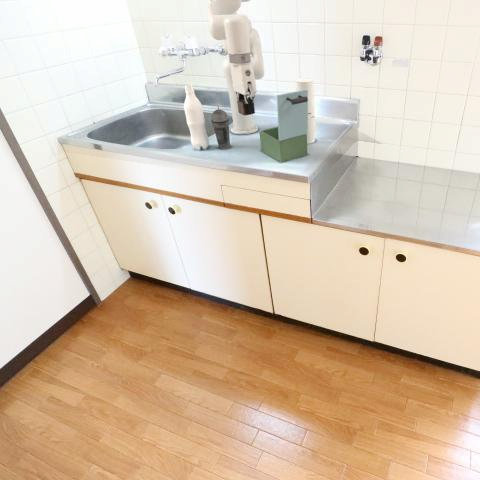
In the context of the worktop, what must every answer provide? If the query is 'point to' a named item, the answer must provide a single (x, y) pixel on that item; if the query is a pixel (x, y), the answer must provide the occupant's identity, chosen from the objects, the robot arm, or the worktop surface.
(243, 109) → the block
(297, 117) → the grey lid with handle
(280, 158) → the box
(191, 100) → the water bottle
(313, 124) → the cylindrical container
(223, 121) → the beverage cup
